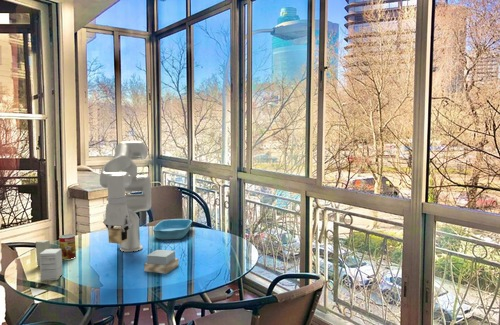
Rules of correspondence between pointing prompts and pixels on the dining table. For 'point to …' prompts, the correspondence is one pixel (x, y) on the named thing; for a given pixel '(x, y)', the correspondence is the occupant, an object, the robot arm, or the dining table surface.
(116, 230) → the block
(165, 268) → the birch slab
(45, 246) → the box
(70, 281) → the dining table surface
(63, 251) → the canned food
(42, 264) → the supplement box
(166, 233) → the casserole dish
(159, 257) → the slate block
